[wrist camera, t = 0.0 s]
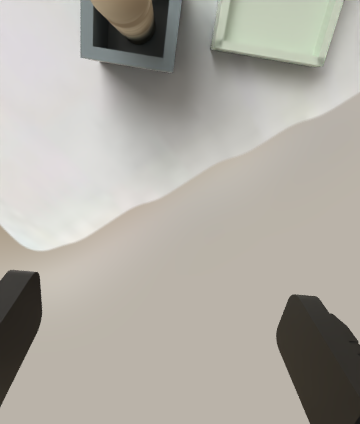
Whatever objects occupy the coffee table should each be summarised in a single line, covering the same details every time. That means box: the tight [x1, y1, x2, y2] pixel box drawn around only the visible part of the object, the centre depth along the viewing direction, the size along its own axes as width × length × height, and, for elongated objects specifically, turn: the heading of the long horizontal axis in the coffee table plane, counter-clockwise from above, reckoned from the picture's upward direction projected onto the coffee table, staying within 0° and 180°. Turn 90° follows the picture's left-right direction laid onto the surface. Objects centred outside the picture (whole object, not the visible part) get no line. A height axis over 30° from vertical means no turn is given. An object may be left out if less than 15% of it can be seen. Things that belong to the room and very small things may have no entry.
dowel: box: [91, 0, 155, 45], centre depth 23 cm, size 4×4×15 cm
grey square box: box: [81, 0, 182, 73], centre depth 27 cm, size 8×8×8 cm
